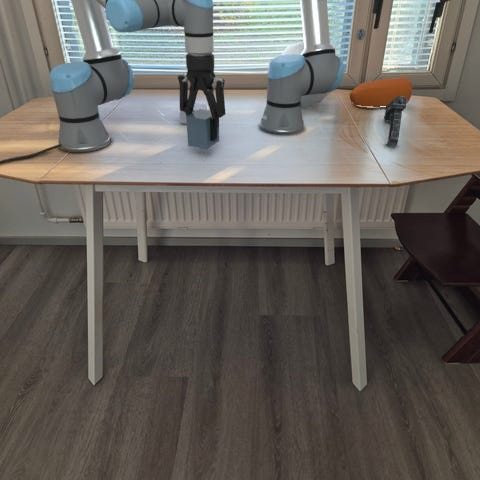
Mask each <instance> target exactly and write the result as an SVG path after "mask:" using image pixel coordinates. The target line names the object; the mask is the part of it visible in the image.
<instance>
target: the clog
mask: <svg viewBox="0 0 480 480" xmlns="http://www.w3.org/2000/svg"><path fill="white" fill-rule="evenodd" d="M412 93H413V85H412V81H411V80H410V78H407V77H391V78H383V79H382V78H381V79H377V80H370V81H366V82H365V81H364V82H361V83H360V84H358V85H357V86H356V87H355V88H353V89H352V90H351V91H350V92H349V100H350V103H352V102H353V103H352V104H353V105H354V104H355V105H354V106H356V105H361V106H373V107H380V106H387V105H388V104H389V103H390V102H391V101H392V100H393V99H394V98H396V97H397V96H403V97H405V98H406V99H407V104H408V103H409V102H410V100H411V97H412ZM357 108H361V109H363V110H364V109H365V110H373V109H374V110H375V109H377V108H367V107H359V106H357ZM383 109H386V107H384V108H383Z"/></svg>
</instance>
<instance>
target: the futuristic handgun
mask: <svg viewBox="0 0 480 480" xmlns="http://www.w3.org/2000/svg"><path fill="white" fill-rule="evenodd" d="M407 105H408V103H407V99H406V98H405V97H403V96H397V97H396V98H394V99H393V100H392V101H391V102H390V103H389V104H388V105H387V106H386V108H385V110H384V115H383V121H385V122H389V124H390V125H389V132H388V137H387V141H386V142H387V143H386V146H395V147H396V146H398V142H399V137H400V129H401V124H402V116H403V112H404V110H406V109H407ZM384 119H385V120H384ZM386 120H388V121H386Z"/></svg>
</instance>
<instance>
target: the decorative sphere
mask: <svg viewBox="0 0 480 480" xmlns="http://www.w3.org/2000/svg"><path fill="white" fill-rule="evenodd" d="M303 50H304V40H301V41H299V42H295V43H293V44H290V45H287V46H286V47H285V49H283V51H282V52H281V54H280V55H279V56H281V55H286V54H289V55H291V54H299V55H301V53H302V52H303ZM330 93H331V92H327V93H324V94H321V93H320V94H313V95H304V96H301V105H300V107H301V109H306V108H310V107H313V106H315V105H317V104H321V103H322V102H323V100H325V98H326V97H327V96H328V95H329V94H330Z"/></svg>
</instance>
